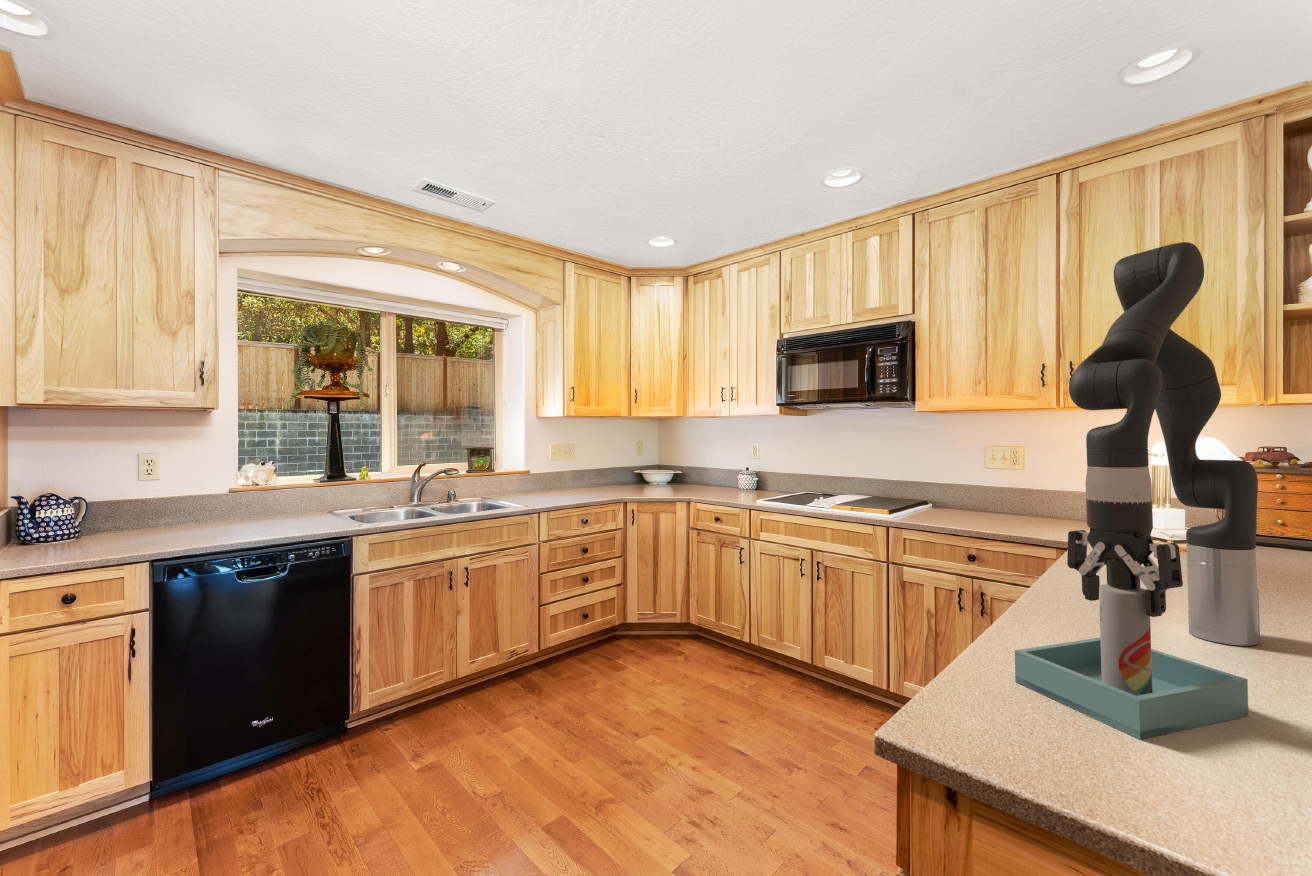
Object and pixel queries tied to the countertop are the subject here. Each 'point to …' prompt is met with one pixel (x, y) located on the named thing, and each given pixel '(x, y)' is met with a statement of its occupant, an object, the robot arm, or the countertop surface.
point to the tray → (1173, 705)
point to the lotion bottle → (1124, 631)
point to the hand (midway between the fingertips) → (1121, 607)
